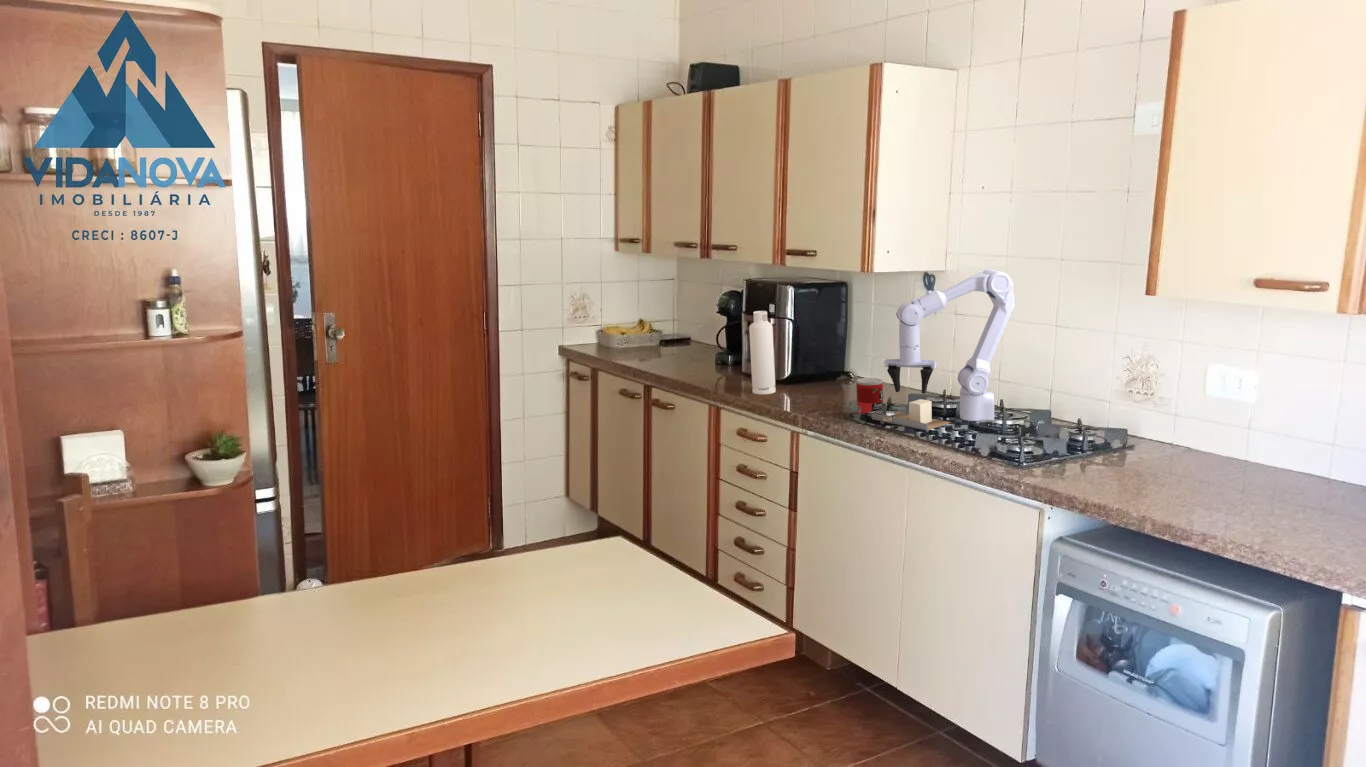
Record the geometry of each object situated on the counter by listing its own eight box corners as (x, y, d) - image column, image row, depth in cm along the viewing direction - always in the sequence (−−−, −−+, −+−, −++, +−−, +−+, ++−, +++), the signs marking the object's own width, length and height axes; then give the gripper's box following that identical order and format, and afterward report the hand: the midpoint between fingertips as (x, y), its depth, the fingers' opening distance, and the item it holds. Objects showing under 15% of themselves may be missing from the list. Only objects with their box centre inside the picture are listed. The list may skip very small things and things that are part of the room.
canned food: (876, 419, 282) (875, 384, 279) (852, 417, 287) (851, 381, 284) (887, 413, 288) (887, 378, 285) (864, 411, 292) (863, 376, 290)
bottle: (764, 395, 322) (760, 314, 316) (747, 392, 328) (743, 312, 322) (780, 390, 327) (777, 311, 321) (763, 388, 333) (759, 309, 327)
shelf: (951, 427, 268) (951, 416, 268) (926, 435, 262) (926, 424, 261) (896, 416, 284) (896, 405, 283) (871, 424, 278) (871, 413, 277)
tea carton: (920, 424, 268) (920, 404, 266) (908, 422, 271) (908, 402, 270) (931, 421, 270) (931, 401, 269) (919, 419, 274) (919, 398, 272)
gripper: (939, 343, 267) (939, 390, 270) (889, 342, 274) (890, 387, 277) (932, 348, 261) (933, 395, 264) (881, 346, 268) (882, 393, 271)
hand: (910, 392), depth 270 cm, fingers open, 7 cm apart
